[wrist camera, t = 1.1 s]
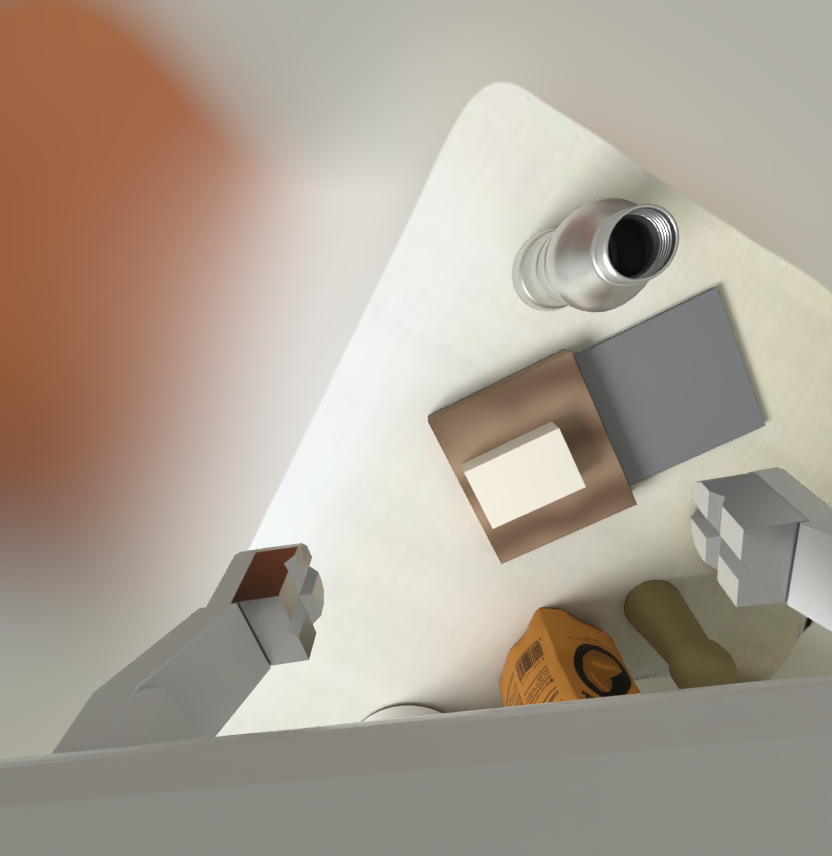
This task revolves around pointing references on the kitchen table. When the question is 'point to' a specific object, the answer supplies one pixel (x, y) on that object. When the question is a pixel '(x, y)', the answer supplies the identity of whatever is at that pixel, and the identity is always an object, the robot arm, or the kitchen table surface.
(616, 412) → the mat
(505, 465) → the tile
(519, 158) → the kitchen table surface
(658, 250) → the plastic bottle
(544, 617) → the coffee package
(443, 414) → the stand
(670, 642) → the cork
